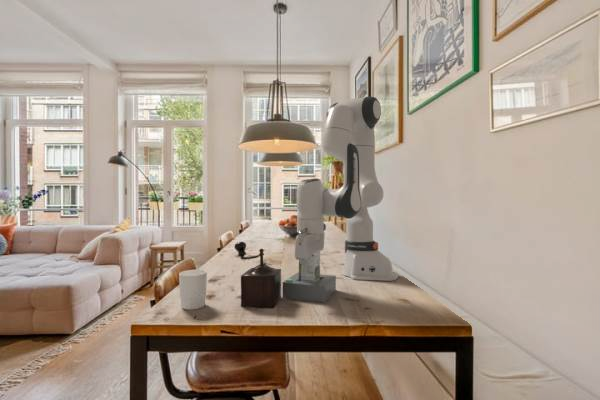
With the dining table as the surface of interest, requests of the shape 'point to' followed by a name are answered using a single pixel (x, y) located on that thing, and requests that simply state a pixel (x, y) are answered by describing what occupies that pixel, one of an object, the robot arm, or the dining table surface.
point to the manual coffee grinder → (259, 282)
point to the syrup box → (311, 269)
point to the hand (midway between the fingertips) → (310, 268)
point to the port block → (309, 288)
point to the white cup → (192, 288)
